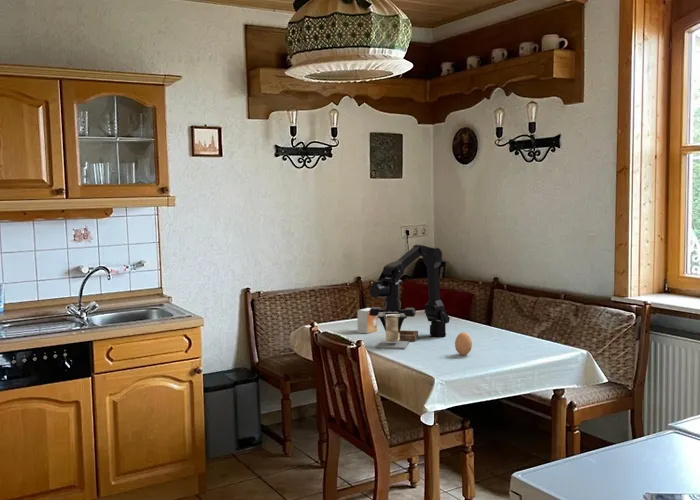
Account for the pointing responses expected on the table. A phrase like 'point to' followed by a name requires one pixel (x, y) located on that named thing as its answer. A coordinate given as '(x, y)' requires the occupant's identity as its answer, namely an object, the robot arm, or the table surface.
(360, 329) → the small box
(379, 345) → the slate mat
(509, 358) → the table surface
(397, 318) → the birch block
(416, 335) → the walnut holder
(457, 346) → the egg
